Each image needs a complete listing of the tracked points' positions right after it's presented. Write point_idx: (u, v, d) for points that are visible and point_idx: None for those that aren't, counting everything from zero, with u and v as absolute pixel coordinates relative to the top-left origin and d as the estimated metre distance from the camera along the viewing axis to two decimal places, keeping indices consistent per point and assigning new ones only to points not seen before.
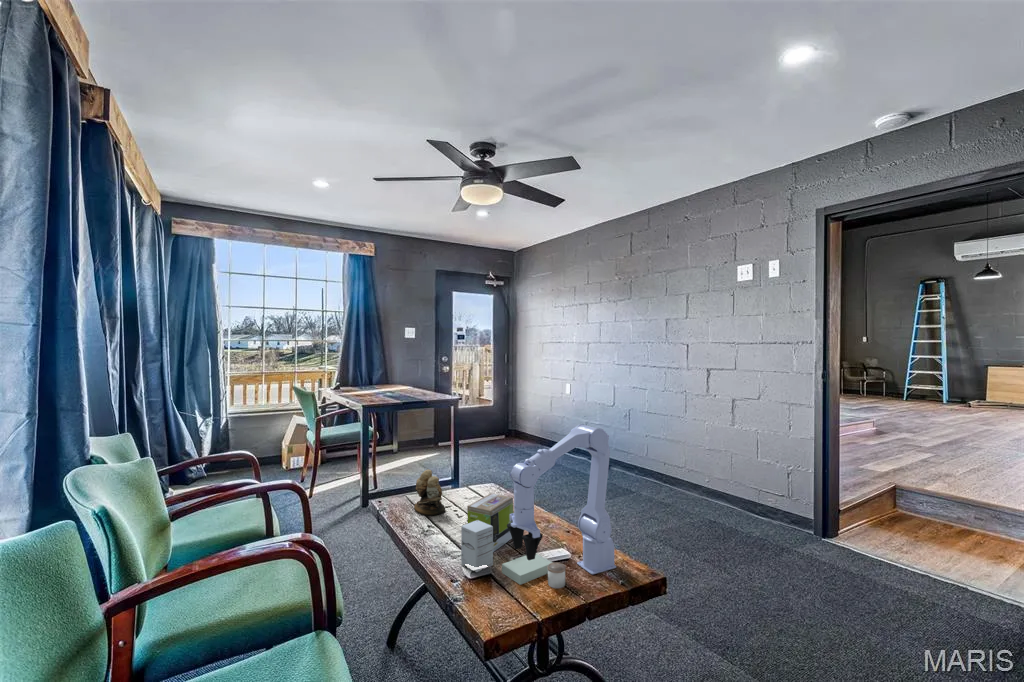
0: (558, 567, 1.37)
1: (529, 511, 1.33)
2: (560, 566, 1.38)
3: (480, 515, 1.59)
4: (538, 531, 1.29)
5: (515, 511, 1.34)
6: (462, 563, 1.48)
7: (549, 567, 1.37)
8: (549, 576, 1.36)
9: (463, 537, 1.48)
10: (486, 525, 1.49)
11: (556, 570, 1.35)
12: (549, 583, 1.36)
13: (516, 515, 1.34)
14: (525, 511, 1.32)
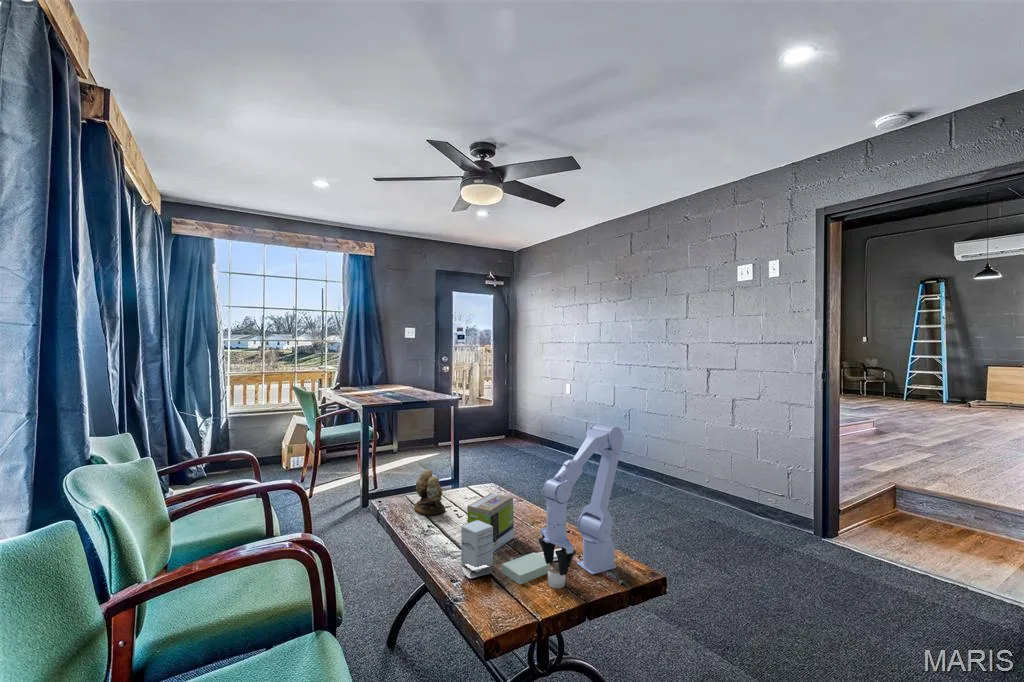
0: (558, 567, 1.37)
1: (562, 527, 1.35)
2: None
3: (480, 515, 1.59)
4: (572, 547, 1.31)
5: (548, 526, 1.36)
6: (462, 563, 1.48)
7: (549, 567, 1.37)
8: (549, 576, 1.36)
9: (463, 537, 1.48)
10: (486, 525, 1.49)
11: (556, 570, 1.35)
12: (549, 583, 1.36)
13: (549, 530, 1.36)
14: (558, 527, 1.35)
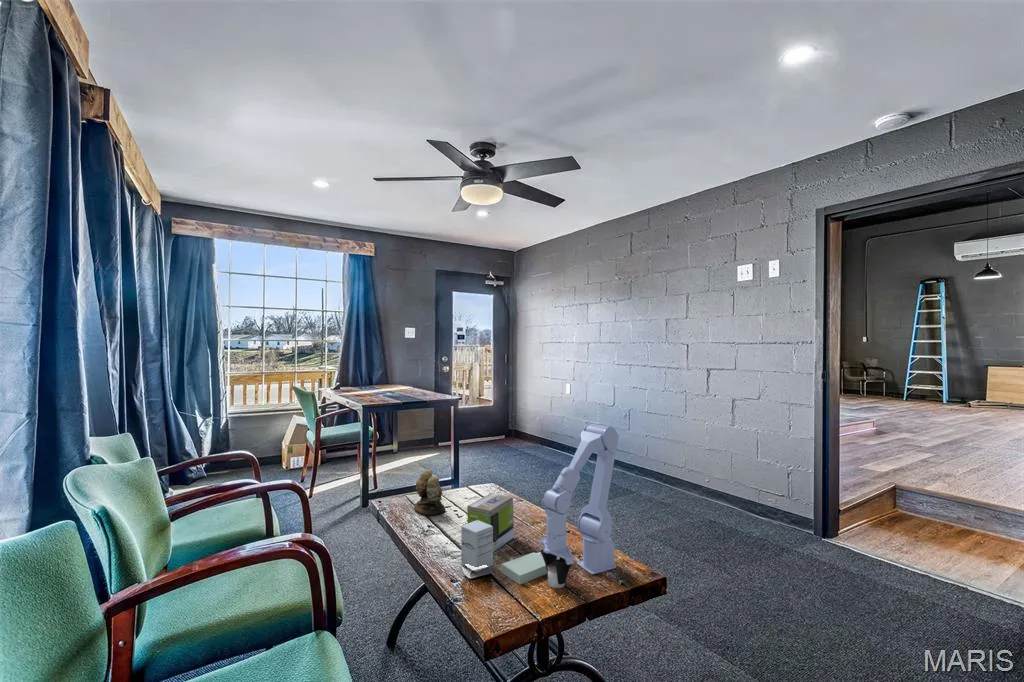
0: None
1: (562, 537, 1.35)
2: None
3: (480, 515, 1.59)
4: (572, 558, 1.31)
5: (548, 537, 1.36)
6: (462, 563, 1.48)
7: (549, 567, 1.37)
8: (549, 576, 1.36)
9: (463, 537, 1.48)
10: (486, 525, 1.49)
11: (556, 570, 1.35)
12: (549, 583, 1.36)
13: (549, 541, 1.36)
14: (558, 537, 1.35)
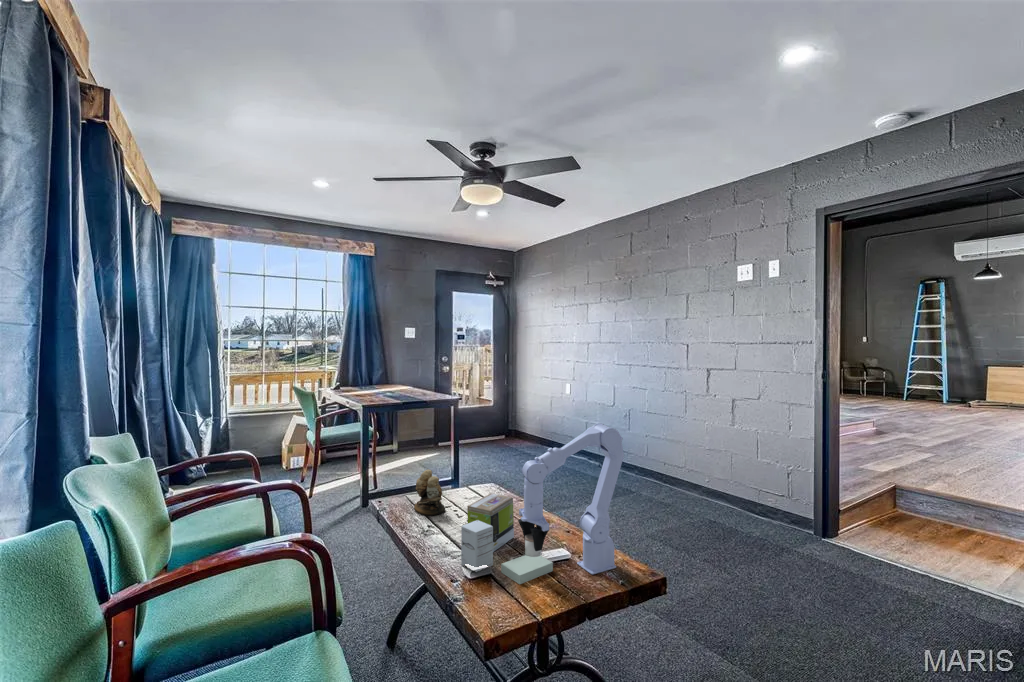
0: None
1: (538, 506, 1.40)
2: None
3: (480, 515, 1.59)
4: (547, 525, 1.37)
5: (525, 506, 1.42)
6: (462, 563, 1.48)
7: (526, 537, 1.43)
8: (526, 545, 1.42)
9: (463, 537, 1.48)
10: (486, 525, 1.49)
11: None
12: (526, 552, 1.42)
13: (526, 510, 1.41)
14: (535, 506, 1.40)
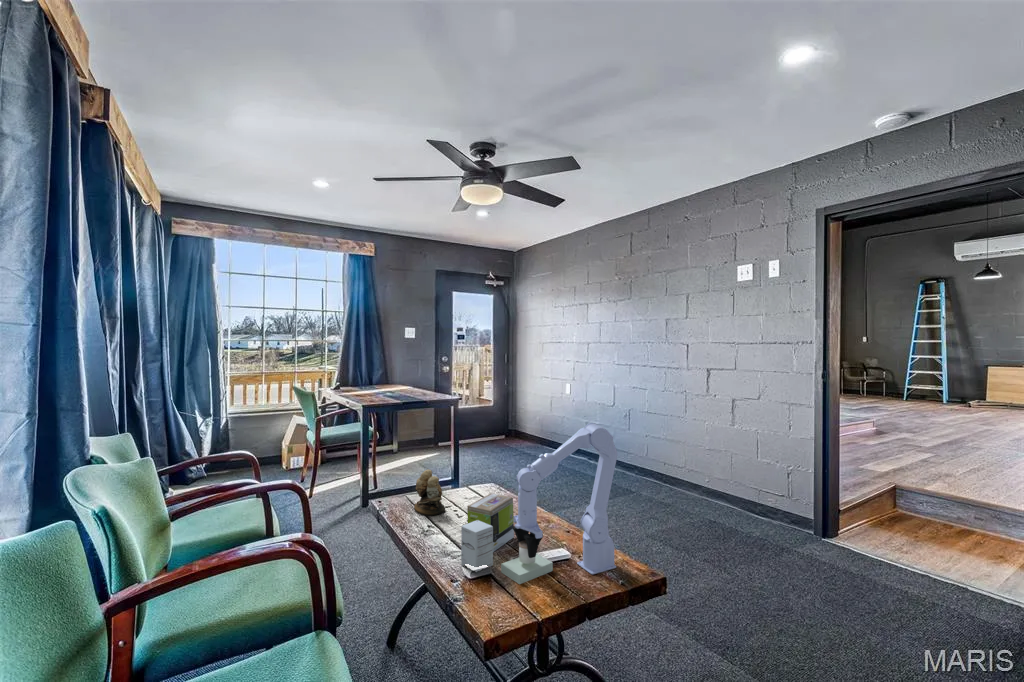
0: None
1: (532, 513, 1.42)
2: None
3: (480, 515, 1.59)
4: (541, 532, 1.38)
5: (519, 513, 1.43)
6: (462, 563, 1.48)
7: (520, 543, 1.44)
8: (520, 552, 1.43)
9: (463, 537, 1.48)
10: (486, 525, 1.49)
11: (526, 546, 1.42)
12: (520, 559, 1.43)
13: (520, 517, 1.43)
14: (528, 513, 1.42)
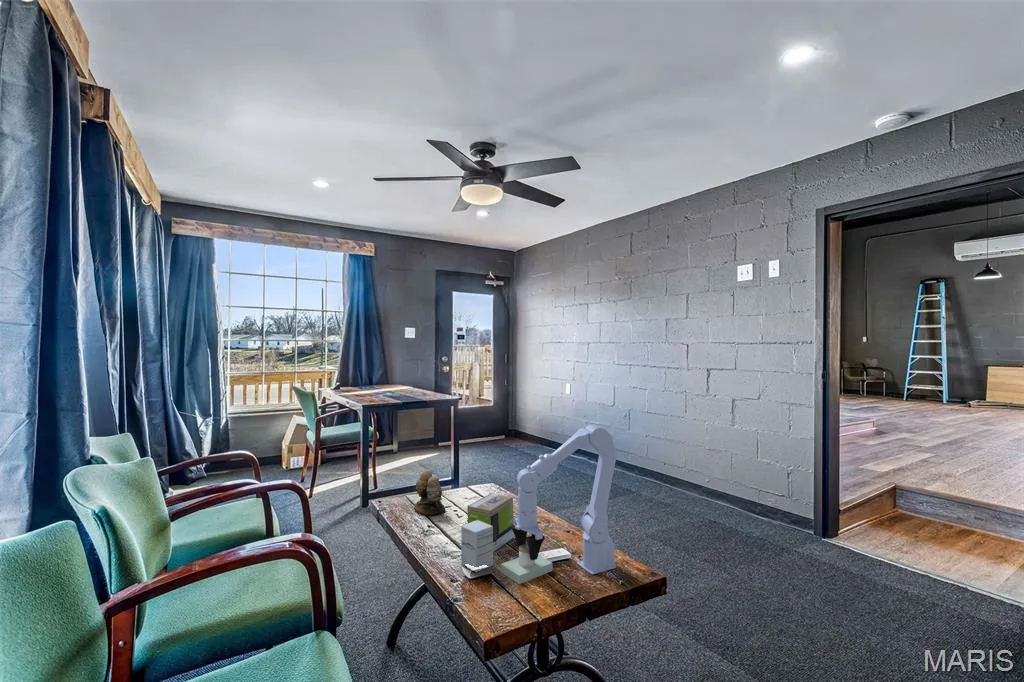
0: (528, 548, 1.44)
1: (532, 514, 1.42)
2: None
3: (480, 515, 1.59)
4: (541, 533, 1.38)
5: (519, 514, 1.43)
6: (462, 563, 1.48)
7: (520, 548, 1.44)
8: (519, 556, 1.43)
9: (463, 537, 1.48)
10: (486, 525, 1.49)
11: (526, 551, 1.42)
12: (519, 563, 1.44)
13: (520, 518, 1.43)
14: (528, 514, 1.42)
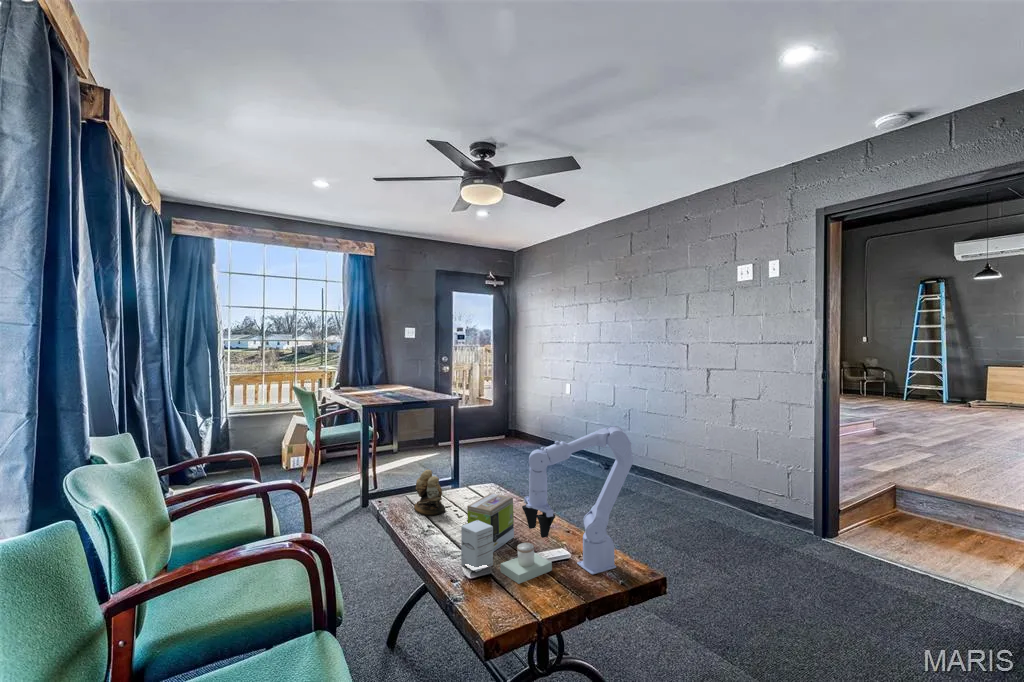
0: (527, 547, 1.44)
1: (543, 493, 1.46)
2: (529, 545, 1.45)
3: (480, 515, 1.59)
4: (551, 511, 1.42)
5: (530, 493, 1.47)
6: (462, 563, 1.48)
7: (518, 547, 1.44)
8: (518, 556, 1.44)
9: (463, 537, 1.48)
10: (486, 525, 1.49)
11: (525, 550, 1.42)
12: (519, 562, 1.44)
13: (531, 497, 1.47)
14: (539, 493, 1.46)
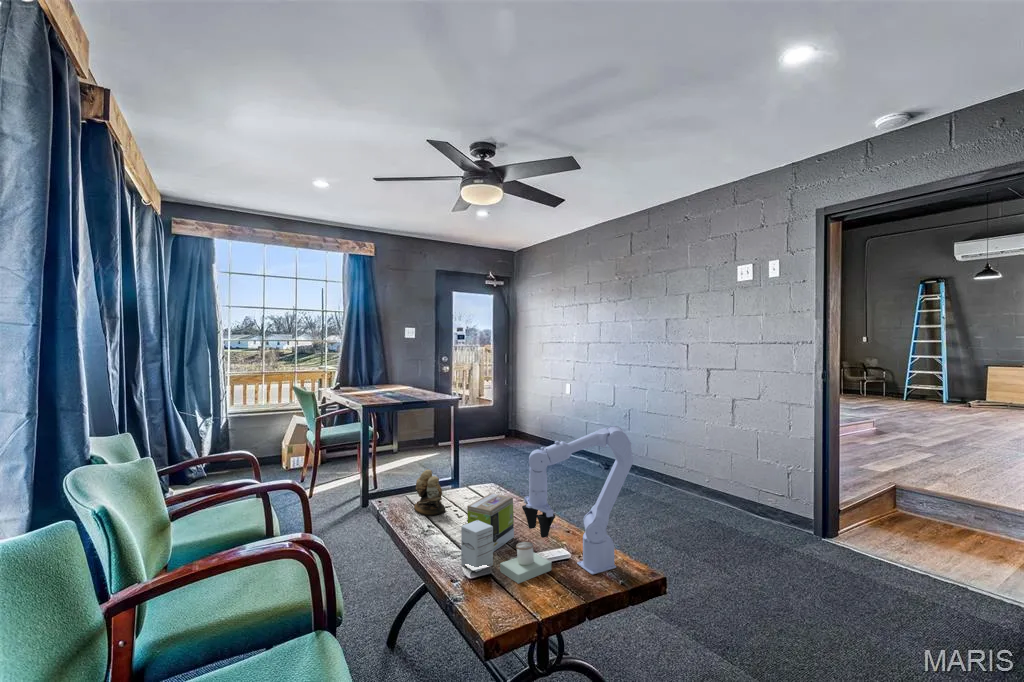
0: (526, 545, 1.45)
1: (543, 493, 1.46)
2: (528, 543, 1.46)
3: (480, 515, 1.59)
4: (551, 511, 1.42)
5: (530, 493, 1.47)
6: (462, 563, 1.48)
7: (518, 546, 1.45)
8: (519, 554, 1.44)
9: (463, 537, 1.48)
10: (486, 525, 1.49)
11: (526, 547, 1.43)
12: (519, 561, 1.44)
13: (531, 497, 1.47)
14: (539, 493, 1.46)
